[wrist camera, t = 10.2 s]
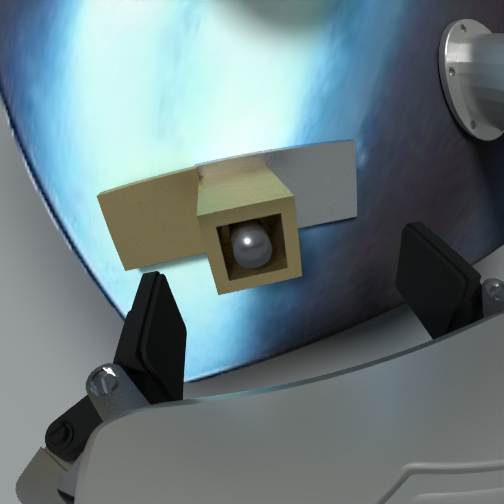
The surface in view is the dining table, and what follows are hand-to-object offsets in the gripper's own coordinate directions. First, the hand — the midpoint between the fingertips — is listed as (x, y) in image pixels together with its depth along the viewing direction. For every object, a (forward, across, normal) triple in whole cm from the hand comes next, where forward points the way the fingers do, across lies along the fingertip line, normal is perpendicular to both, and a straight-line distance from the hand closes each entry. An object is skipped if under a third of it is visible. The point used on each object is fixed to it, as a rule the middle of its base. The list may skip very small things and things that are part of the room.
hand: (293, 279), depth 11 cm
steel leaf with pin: (+11, -2, +1) cm, 12 cm away
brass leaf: (+10, +5, +1) cm, 11 cm away
